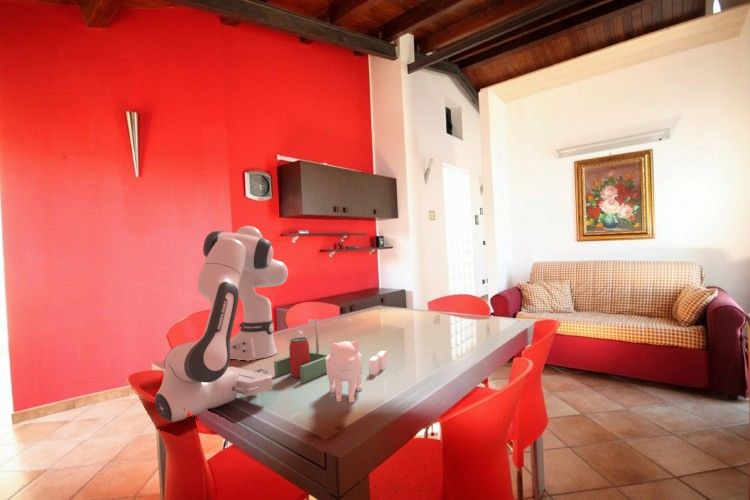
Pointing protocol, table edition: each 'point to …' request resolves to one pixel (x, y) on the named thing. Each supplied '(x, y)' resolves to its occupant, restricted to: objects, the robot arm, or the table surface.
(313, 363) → the green low-walled tray
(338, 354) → the cat figurine
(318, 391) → the table surface
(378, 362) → the napkin holder
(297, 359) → the beer can
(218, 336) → the robot arm
